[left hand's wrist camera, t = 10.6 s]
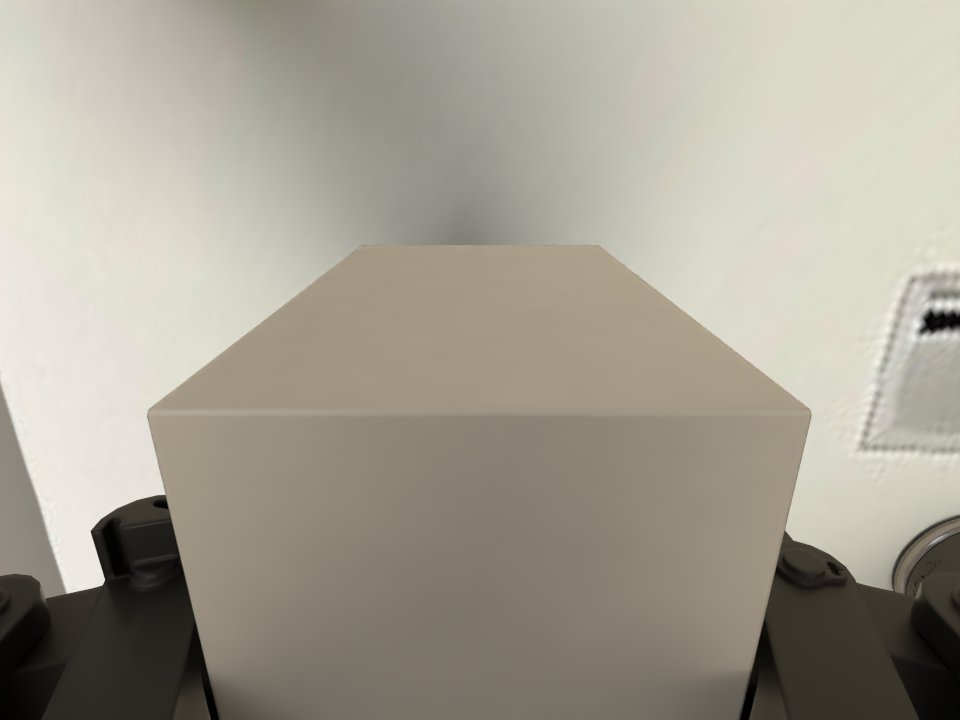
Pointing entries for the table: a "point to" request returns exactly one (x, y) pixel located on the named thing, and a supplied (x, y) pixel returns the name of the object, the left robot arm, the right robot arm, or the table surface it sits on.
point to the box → (479, 496)
